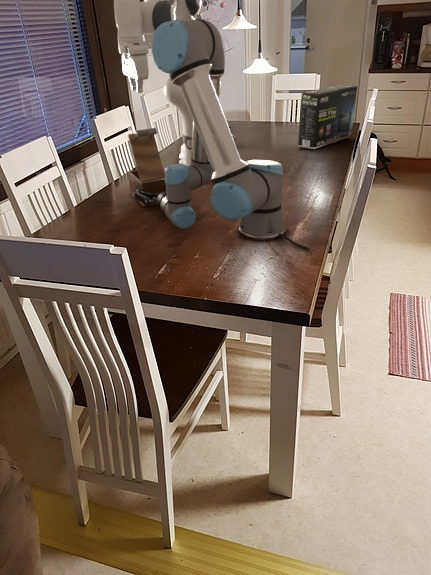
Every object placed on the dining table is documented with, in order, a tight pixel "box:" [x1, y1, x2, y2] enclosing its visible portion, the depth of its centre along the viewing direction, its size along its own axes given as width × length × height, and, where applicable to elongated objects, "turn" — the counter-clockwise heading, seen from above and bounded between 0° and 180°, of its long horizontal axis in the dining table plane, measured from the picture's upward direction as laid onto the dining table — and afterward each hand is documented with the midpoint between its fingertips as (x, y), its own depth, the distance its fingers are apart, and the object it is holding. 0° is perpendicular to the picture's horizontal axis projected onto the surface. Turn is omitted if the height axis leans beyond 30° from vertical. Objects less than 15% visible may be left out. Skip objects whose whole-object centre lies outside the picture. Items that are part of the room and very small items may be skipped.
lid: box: [127, 127, 165, 182], centre depth 166 cm, size 18×10×9 cm
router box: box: [297, 84, 358, 151], centre depth 238 cm, size 36×11×27 cm, turn 134°
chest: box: [127, 169, 166, 208], centre depth 179 cm, size 17×10×9 cm, turn 26°
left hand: (137, 91), depth 161 cm, fingers open, 6 cm apart
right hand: (150, 186), depth 175 cm, fingers closed on chest, 10 cm apart
